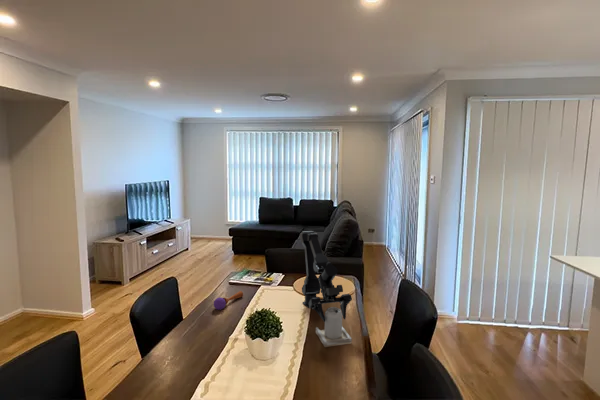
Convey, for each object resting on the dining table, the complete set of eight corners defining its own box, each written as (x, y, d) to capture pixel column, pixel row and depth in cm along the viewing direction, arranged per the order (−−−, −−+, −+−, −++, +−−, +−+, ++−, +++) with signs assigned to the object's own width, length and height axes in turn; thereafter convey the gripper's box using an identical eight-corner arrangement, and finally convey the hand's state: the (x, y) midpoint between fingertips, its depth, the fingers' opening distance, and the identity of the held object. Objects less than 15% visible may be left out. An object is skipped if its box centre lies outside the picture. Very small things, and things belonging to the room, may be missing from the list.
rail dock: (315, 332, 144) (315, 327, 144) (340, 328, 147) (340, 324, 147) (324, 347, 133) (324, 342, 133) (351, 343, 136) (351, 338, 136)
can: (343, 340, 137) (344, 313, 136) (326, 341, 136) (327, 314, 134) (339, 330, 145) (339, 305, 143) (322, 331, 143) (323, 306, 142)
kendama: (246, 291, 178) (221, 302, 160) (243, 301, 179) (218, 313, 161) (237, 287, 181) (212, 297, 163) (235, 296, 182) (210, 308, 164)
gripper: (311, 280, 138) (318, 316, 129) (351, 276, 143) (361, 311, 134) (305, 290, 147) (312, 325, 138) (343, 286, 152) (352, 320, 143)
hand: (334, 320), depth 138 cm, fingers open, 9 cm apart
